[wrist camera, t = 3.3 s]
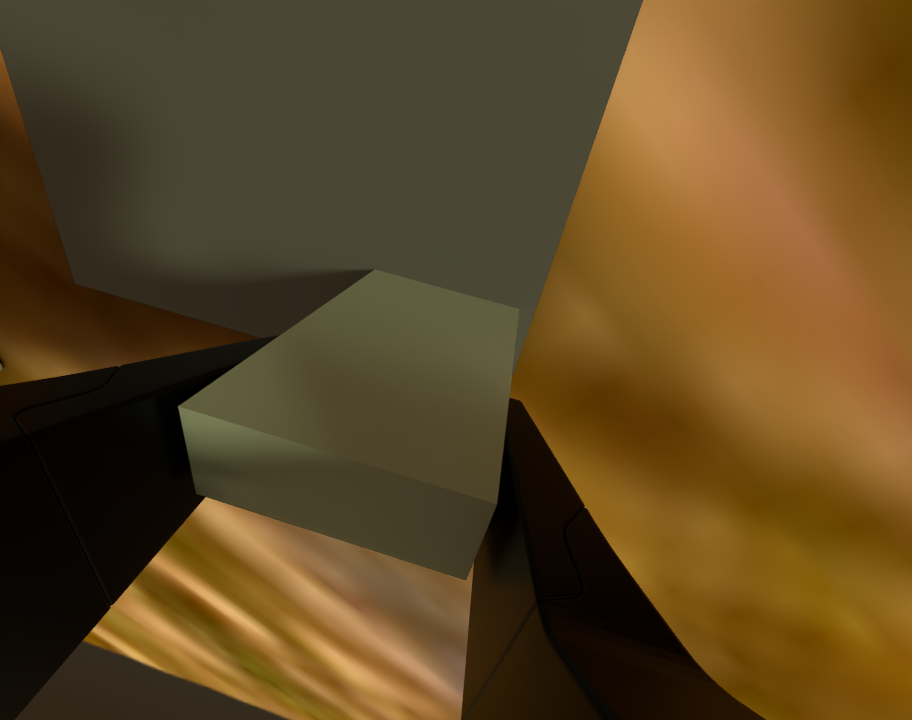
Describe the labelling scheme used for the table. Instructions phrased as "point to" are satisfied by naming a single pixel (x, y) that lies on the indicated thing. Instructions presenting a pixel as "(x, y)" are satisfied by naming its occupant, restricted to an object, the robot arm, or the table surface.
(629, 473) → the table surface
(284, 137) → the mat
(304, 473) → the domino
